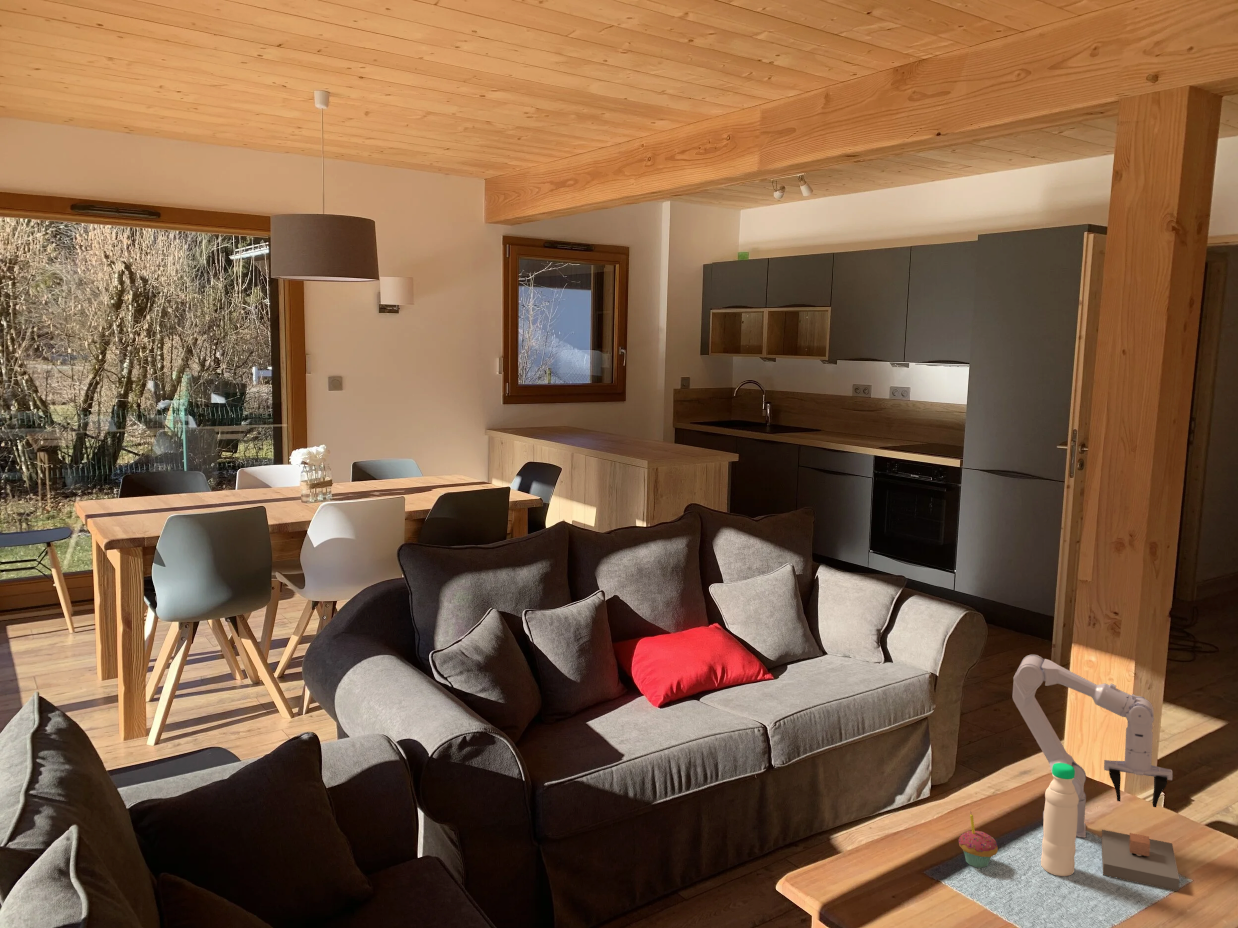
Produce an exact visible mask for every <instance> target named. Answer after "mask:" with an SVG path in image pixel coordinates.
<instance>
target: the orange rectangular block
mask: <svg viewBox="0 0 1238 928" xmlns="http://www.w3.org/2000/svg"><path fill="white" fill-rule="evenodd" d="M1129 835H1130V836H1129V851H1130V853H1134V854H1136V856H1142V855H1144V856H1149V853H1150V840H1149V839H1150V836H1148V835H1144V834H1137V833H1132V832H1129Z"/></svg>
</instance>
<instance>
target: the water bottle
mask: <svg viewBox="0 0 1238 928" xmlns="http://www.w3.org/2000/svg"><path fill="white" fill-rule="evenodd" d="M1051 774H1052V777H1053V778H1052V780H1051V782H1050V783H1049V785H1048V787H1047V788H1046V790H1045V793H1044V797H1045V799H1046V801H1044V802H1045V803H1044V810H1043V811H1044V819H1043V823H1042V824H1043V829H1042V830H1043V832H1042V833H1043V837H1042V842H1041V848H1042V849H1041V857H1040V858H1041V859H1040V865H1041V867H1042V869H1043V870H1044V871H1046V872H1048V874H1050V875H1054V876H1057V877H1069V876H1071V875H1073V873H1074V872H1075V865H1076V864H1075V863H1076V861H1075V855H1076V846H1077V845H1076V838H1077V836H1076V832H1077V817H1078V809H1077V805H1078V802H1079V798H1078V795H1077V792H1076V790H1075V787H1074V785H1073V783H1072V780H1073V779H1074V776H1075V769H1074V768H1073V767H1072V766H1071V765H1068V764H1065V763H1055V764H1054V765H1053V767H1052V772H1051Z"/></svg>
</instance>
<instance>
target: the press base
mask: <svg viewBox="0 0 1238 928" xmlns="http://www.w3.org/2000/svg"><path fill="white" fill-rule="evenodd" d="M1129 836H1130V834H1125V833H1121V832H1116V831H1111V830H1105V829H1101V837H1100V839H1101V840H1100V841H1101V844H1100V845H1101V861H1102V876H1104V875H1107V876H1106V877H1109V876H1111V877H1110V878H1114V877H1117V878H1116V879H1118V878H1121V879H1120V880H1123V879H1124V880H1123V881H1127V882H1128V881H1129V882H1132V881H1133V883H1137V882H1138V884H1142V885H1147V886H1151V887H1156V888H1160V889H1165V890H1171V891H1174V892H1179V889H1180V887H1179V886H1180V877H1179V871H1178V866H1177V861H1176V856H1175V851H1174V845H1173V843H1172V842H1167V841H1162V840H1156V839H1152V838H1149V840H1150V853H1149V856H1144V855H1142V856H1136V854H1134V853H1130V851H1129Z"/></svg>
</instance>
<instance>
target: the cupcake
mask: <svg viewBox="0 0 1238 928" xmlns="http://www.w3.org/2000/svg"><path fill="white" fill-rule="evenodd" d="M969 817H970V826H971V827H970V828H971V830H968V831H965V832H963V833H962V834H961V835H960V836H959V837H958V845H959V847H960V848H961V849H962V851H963V854H964V857H965V862H966V863H967V864H968V865H969V866H971V867H975V868H978V869H979V868H980V869H981V868H986V867H987V866H989V863H990V861H991V859H992V857H993V856H995V855H997V854H998V850H999V848H998V843H997V840H995V839H994V837H992V836H991V835H990V834H988V833H986V832H984V831H980V830H975V829H976V828H975V822H974V814H972V811H970V815H969Z"/></svg>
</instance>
